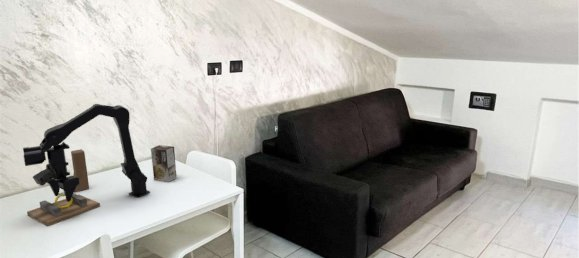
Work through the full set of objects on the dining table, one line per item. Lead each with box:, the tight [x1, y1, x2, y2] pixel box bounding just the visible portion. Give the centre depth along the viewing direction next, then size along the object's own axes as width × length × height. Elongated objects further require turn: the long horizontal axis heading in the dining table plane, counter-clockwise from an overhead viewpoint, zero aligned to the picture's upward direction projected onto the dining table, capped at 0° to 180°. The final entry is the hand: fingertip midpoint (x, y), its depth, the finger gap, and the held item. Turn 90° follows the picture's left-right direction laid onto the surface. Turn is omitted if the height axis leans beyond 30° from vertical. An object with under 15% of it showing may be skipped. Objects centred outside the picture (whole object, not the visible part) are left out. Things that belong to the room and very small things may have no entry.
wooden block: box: [70, 148, 90, 193], centre depth 169 cm, size 9×4×18 cm, turn 133°
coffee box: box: [150, 144, 177, 183], centre depth 183 cm, size 9×6×16 cm
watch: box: [54, 191, 73, 209], centre depth 150 cm, size 6×3×6 cm, turn 139°
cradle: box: [26, 192, 101, 227], centre depth 151 cm, size 16×20×4 cm
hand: (62, 198), depth 150 cm, fingers open, 9 cm apart
